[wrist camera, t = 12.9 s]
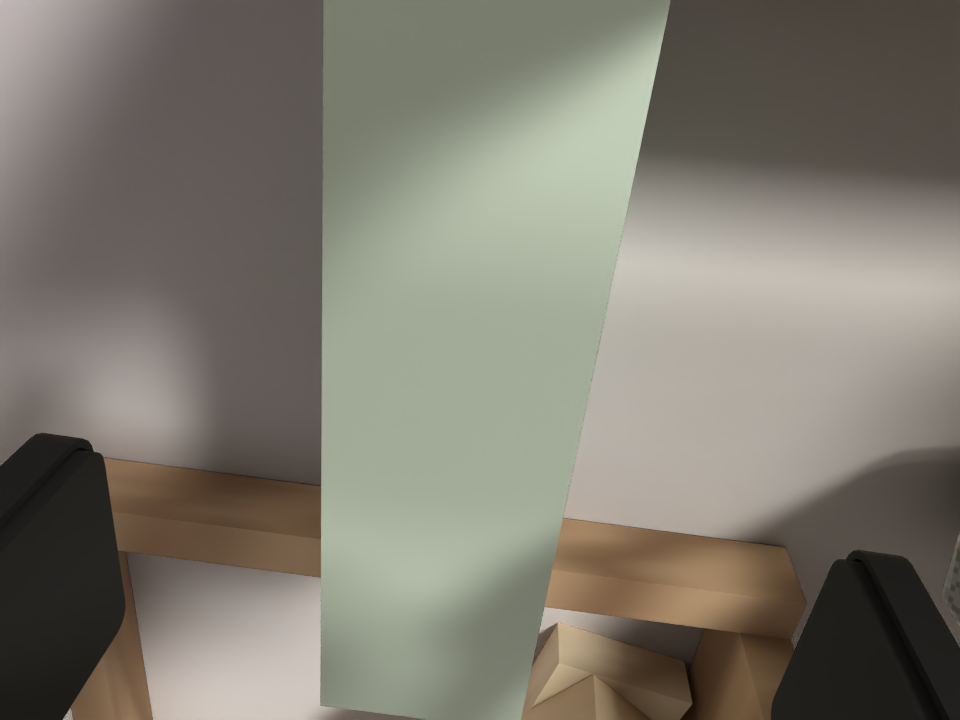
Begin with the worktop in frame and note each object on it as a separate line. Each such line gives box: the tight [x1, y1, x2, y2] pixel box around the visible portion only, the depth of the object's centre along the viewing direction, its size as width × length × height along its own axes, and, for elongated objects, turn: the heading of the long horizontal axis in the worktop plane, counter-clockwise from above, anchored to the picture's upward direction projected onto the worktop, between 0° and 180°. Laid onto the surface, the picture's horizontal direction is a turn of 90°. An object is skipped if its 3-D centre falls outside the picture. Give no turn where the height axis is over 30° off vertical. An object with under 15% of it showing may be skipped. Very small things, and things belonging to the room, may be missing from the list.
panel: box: [320, 0, 671, 720], centre depth 16 cm, size 4×14×10 cm, turn 174°
